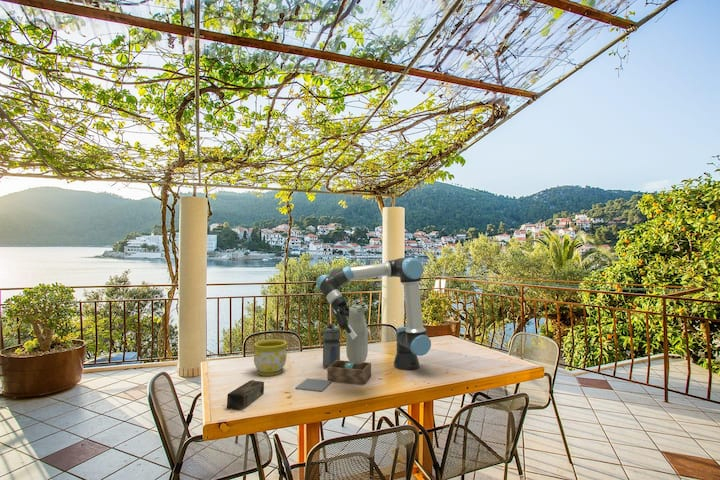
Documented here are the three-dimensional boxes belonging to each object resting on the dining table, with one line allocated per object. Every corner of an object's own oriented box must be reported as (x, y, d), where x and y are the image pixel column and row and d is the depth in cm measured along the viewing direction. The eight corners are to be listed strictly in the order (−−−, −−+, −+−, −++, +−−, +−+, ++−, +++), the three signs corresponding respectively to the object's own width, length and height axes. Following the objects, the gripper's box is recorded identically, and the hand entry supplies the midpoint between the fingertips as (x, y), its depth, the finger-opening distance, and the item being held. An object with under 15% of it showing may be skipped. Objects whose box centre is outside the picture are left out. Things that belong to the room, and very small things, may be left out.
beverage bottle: (337, 362, 215) (337, 321, 217) (341, 369, 202) (342, 325, 204) (320, 363, 212) (321, 322, 214) (324, 370, 200) (325, 326, 201)
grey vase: (371, 362, 169) (371, 304, 171) (357, 367, 161) (357, 306, 163) (356, 359, 176) (356, 303, 177) (342, 363, 168) (342, 305, 169)
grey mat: (332, 382, 181) (332, 380, 181) (321, 391, 167) (321, 390, 167) (307, 379, 184) (307, 378, 184) (295, 388, 171) (295, 387, 171)
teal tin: (354, 374, 190) (354, 362, 191) (352, 377, 186) (352, 365, 186) (346, 373, 192) (346, 362, 192) (343, 376, 187) (343, 364, 187)
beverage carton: (264, 394, 165) (265, 379, 165) (242, 411, 146) (242, 395, 147) (249, 392, 167) (249, 378, 167) (225, 409, 148) (226, 393, 148)
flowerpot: (254, 368, 203) (255, 340, 204) (286, 366, 207) (286, 338, 208) (251, 378, 186) (252, 347, 186) (286, 376, 189) (286, 345, 190)
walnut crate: (371, 375, 190) (371, 362, 191) (364, 384, 177) (364, 370, 177) (336, 372, 196) (336, 359, 196) (327, 380, 182) (327, 367, 183)
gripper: (346, 303, 188) (370, 336, 178) (317, 307, 170) (342, 345, 160) (354, 293, 185) (379, 327, 175) (325, 297, 167) (351, 334, 157)
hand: (361, 335), depth 167 cm, fingers closed on grey vase, 10 cm apart
